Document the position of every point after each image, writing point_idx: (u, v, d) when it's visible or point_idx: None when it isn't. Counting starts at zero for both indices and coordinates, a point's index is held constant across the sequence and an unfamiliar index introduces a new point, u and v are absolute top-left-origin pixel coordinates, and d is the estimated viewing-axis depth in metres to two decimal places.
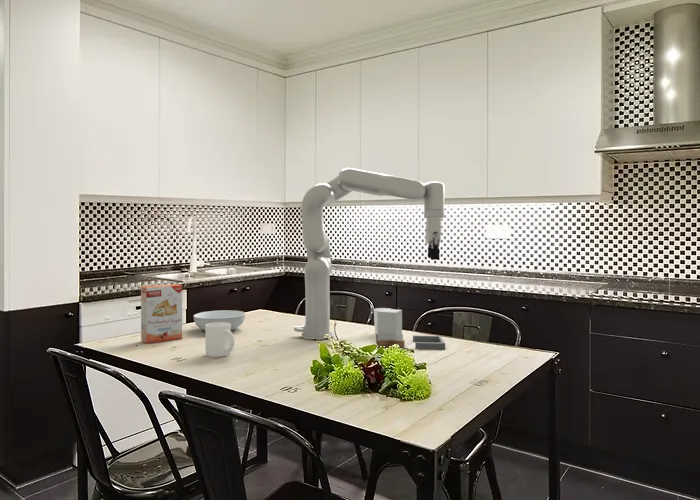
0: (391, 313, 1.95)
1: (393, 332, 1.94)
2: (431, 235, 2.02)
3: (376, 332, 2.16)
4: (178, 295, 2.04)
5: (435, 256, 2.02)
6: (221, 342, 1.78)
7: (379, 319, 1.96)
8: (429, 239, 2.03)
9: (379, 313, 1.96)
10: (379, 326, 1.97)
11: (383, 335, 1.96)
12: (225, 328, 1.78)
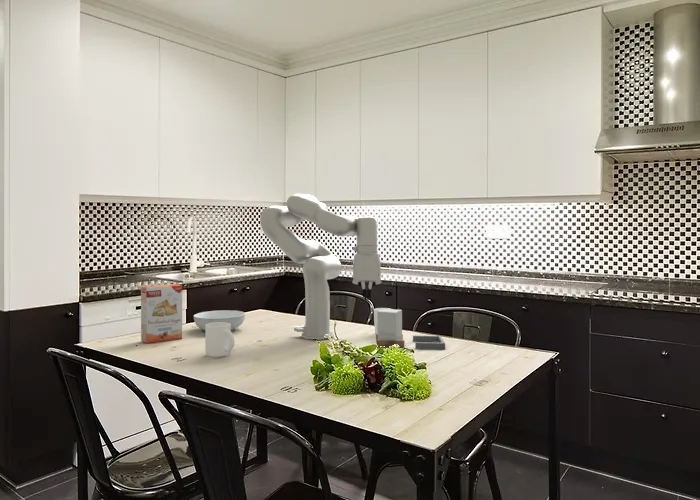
0: (391, 313, 1.95)
1: (393, 332, 1.94)
2: (380, 272, 1.96)
3: (376, 332, 2.16)
4: (178, 295, 2.04)
5: (370, 296, 1.98)
6: (221, 342, 1.78)
7: (379, 319, 1.96)
8: (380, 276, 1.96)
9: (379, 314, 1.96)
10: (379, 326, 1.97)
11: (383, 335, 1.96)
12: (225, 328, 1.78)
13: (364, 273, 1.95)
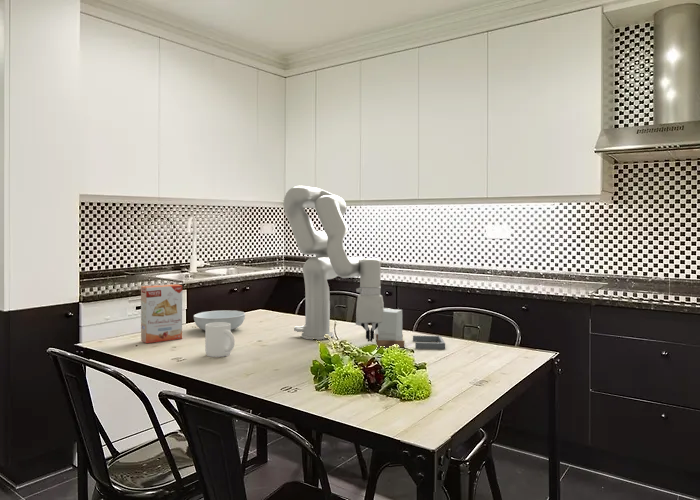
0: (391, 313, 1.95)
1: (393, 332, 1.94)
2: None
3: (376, 332, 2.16)
4: (178, 295, 2.04)
5: (373, 337, 1.99)
6: (221, 342, 1.78)
7: None
8: None
9: None
10: (379, 326, 1.96)
11: (384, 335, 1.96)
12: (225, 328, 1.78)
13: (367, 315, 1.96)
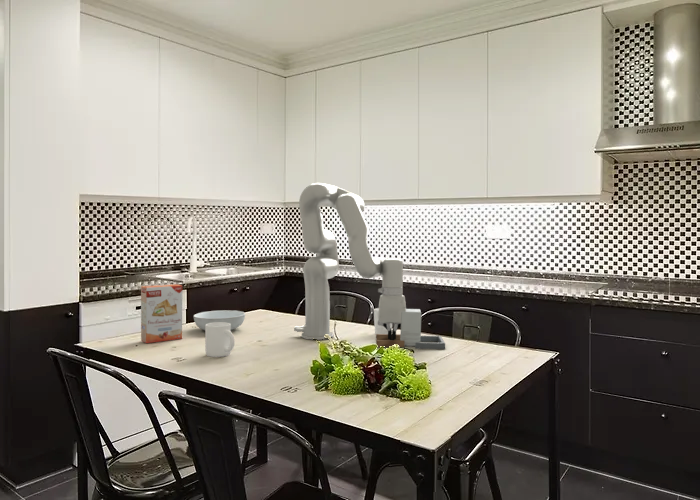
0: (416, 313, 1.95)
1: (418, 331, 1.95)
2: None
3: (376, 332, 2.16)
4: (178, 295, 2.04)
5: (395, 337, 1.99)
6: (221, 342, 1.78)
7: (403, 319, 1.95)
8: None
9: (403, 314, 1.95)
10: (403, 326, 1.95)
11: (407, 335, 1.95)
12: (225, 328, 1.78)
13: (390, 315, 1.96)
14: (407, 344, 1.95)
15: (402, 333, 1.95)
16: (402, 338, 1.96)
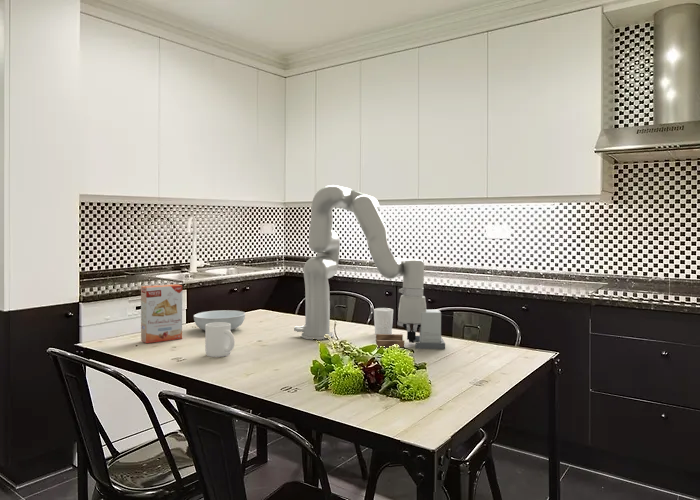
0: (436, 313, 1.95)
1: (438, 332, 1.95)
2: None
3: (376, 332, 2.16)
4: (178, 295, 2.04)
5: None
6: (221, 342, 1.78)
7: (423, 320, 1.95)
8: None
9: (423, 314, 1.95)
10: (423, 327, 1.95)
11: (428, 336, 1.95)
12: (225, 328, 1.78)
13: (410, 316, 1.95)
14: None
15: (422, 334, 1.95)
16: (422, 339, 1.95)
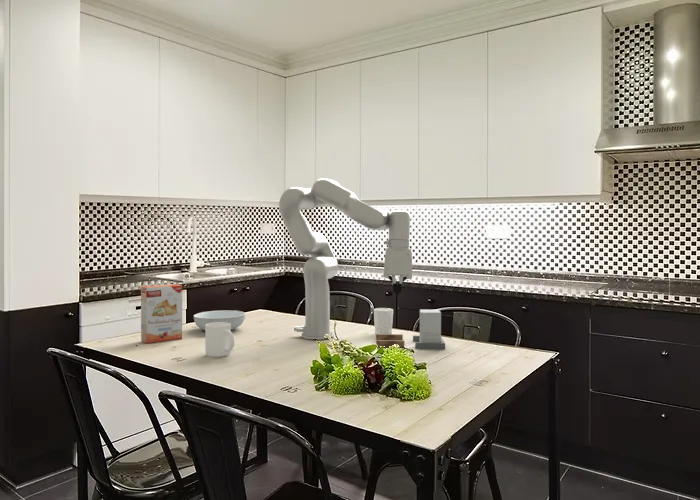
0: (436, 313, 1.95)
1: (438, 332, 1.95)
2: None
3: (376, 332, 2.16)
4: (178, 295, 2.04)
5: None
6: (221, 342, 1.78)
7: (423, 320, 1.95)
8: (411, 271, 1.95)
9: (423, 314, 1.95)
10: (423, 327, 1.95)
11: (428, 336, 1.95)
12: (225, 328, 1.78)
13: (395, 267, 1.95)
14: None
15: (422, 334, 1.95)
16: (422, 339, 1.95)
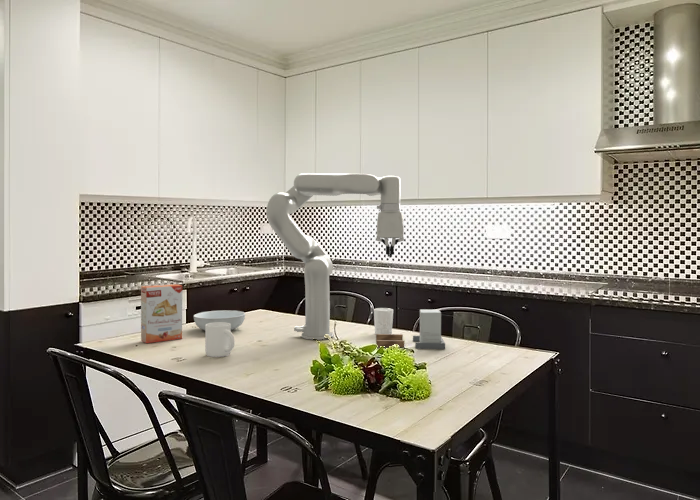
0: (436, 313, 1.95)
1: (438, 332, 1.95)
2: (403, 229, 2.04)
3: (376, 332, 2.16)
4: (178, 295, 2.04)
5: (393, 253, 2.06)
6: (221, 342, 1.78)
7: (423, 320, 1.95)
8: (403, 233, 2.04)
9: (423, 314, 1.95)
10: (423, 327, 1.95)
11: (428, 336, 1.95)
12: (225, 328, 1.78)
13: (388, 230, 2.03)
14: None
15: (422, 334, 1.95)
16: (422, 339, 1.95)
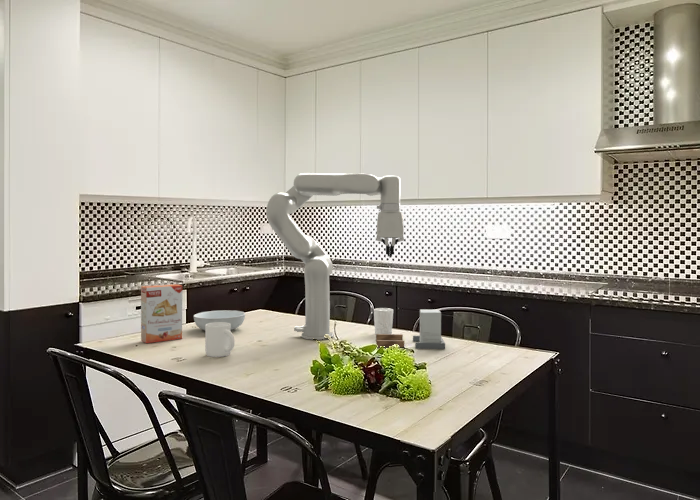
0: (436, 313, 1.95)
1: (438, 332, 1.95)
2: (403, 229, 2.04)
3: (376, 332, 2.16)
4: (178, 295, 2.04)
5: (393, 253, 2.06)
6: (221, 342, 1.78)
7: (423, 320, 1.95)
8: (403, 233, 2.04)
9: (423, 314, 1.95)
10: (423, 327, 1.95)
11: (428, 336, 1.95)
12: (225, 328, 1.78)
13: (388, 230, 2.03)
14: None
15: (422, 334, 1.95)
16: (422, 339, 1.95)
